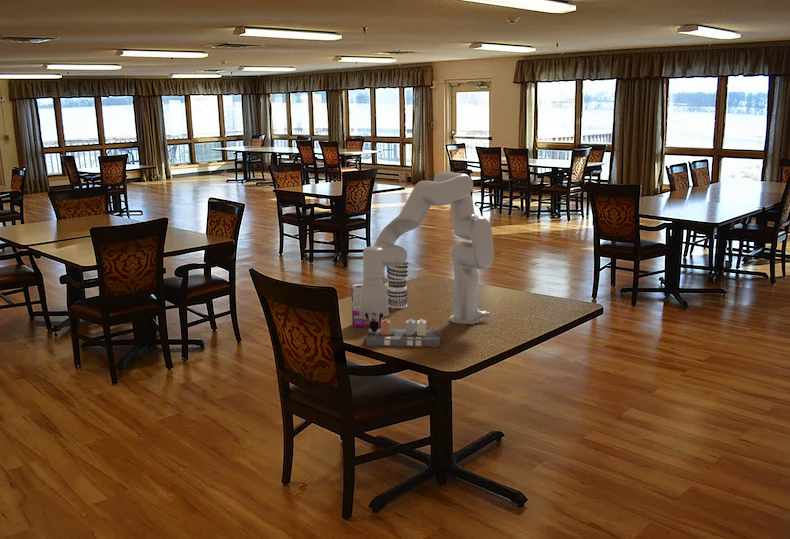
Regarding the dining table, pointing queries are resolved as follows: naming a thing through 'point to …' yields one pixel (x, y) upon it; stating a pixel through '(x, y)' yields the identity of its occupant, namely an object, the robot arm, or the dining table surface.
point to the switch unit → (403, 338)
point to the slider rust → (385, 327)
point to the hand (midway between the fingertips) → (374, 331)
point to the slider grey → (410, 327)
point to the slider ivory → (421, 327)
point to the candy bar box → (356, 318)
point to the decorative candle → (397, 285)
